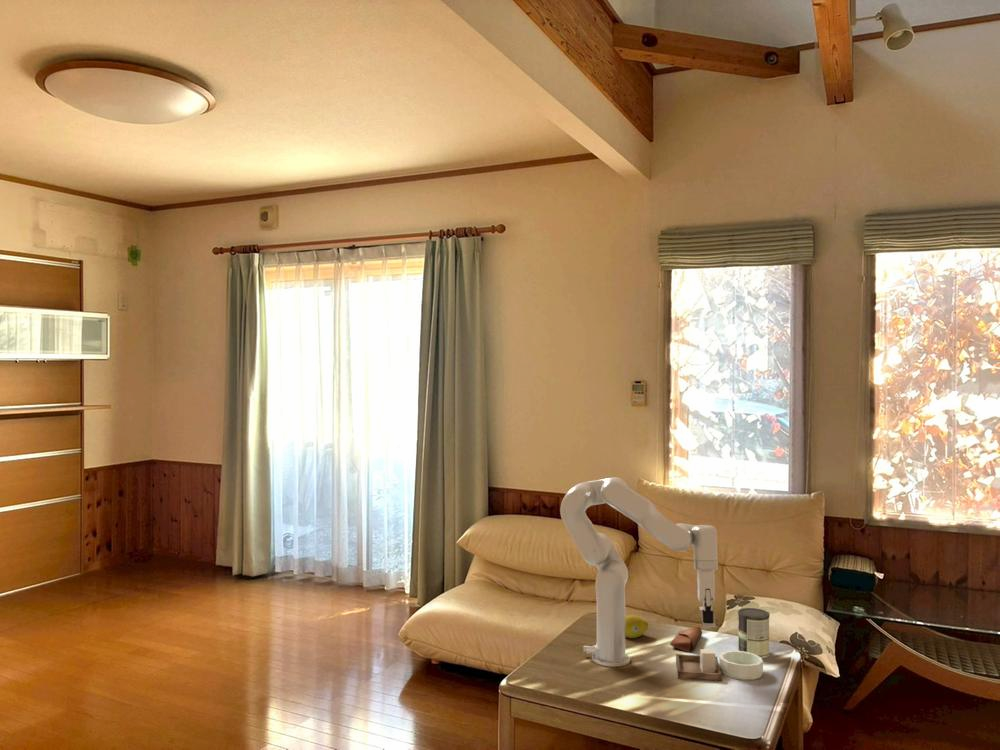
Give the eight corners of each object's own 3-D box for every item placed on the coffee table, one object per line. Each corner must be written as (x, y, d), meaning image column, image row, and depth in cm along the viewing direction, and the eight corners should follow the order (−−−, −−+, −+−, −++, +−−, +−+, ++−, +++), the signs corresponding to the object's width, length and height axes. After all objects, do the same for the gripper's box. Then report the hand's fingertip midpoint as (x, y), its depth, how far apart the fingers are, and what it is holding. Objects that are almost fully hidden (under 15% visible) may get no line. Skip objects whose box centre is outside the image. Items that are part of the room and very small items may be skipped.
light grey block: (703, 628, 242) (699, 610, 243) (702, 625, 246) (699, 606, 246) (716, 627, 242) (712, 608, 242) (715, 623, 245) (711, 605, 245)
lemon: (617, 640, 272) (617, 618, 272) (618, 633, 280) (618, 611, 280) (648, 642, 270) (648, 620, 270) (648, 635, 278) (648, 613, 278)
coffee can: (732, 653, 259) (732, 612, 259) (746, 646, 267) (746, 606, 267) (761, 661, 252) (761, 618, 252) (774, 653, 259) (774, 612, 259)
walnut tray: (678, 678, 237) (678, 671, 237) (675, 660, 252) (675, 653, 252) (721, 681, 234) (721, 674, 234) (716, 663, 250) (716, 656, 250)
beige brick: (702, 672, 241) (702, 653, 241) (700, 667, 245) (700, 649, 245) (715, 672, 241) (715, 653, 241) (712, 668, 244) (712, 649, 245)
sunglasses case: (678, 629, 279) (689, 617, 277) (693, 643, 277) (705, 631, 275) (668, 644, 262) (680, 631, 261) (684, 659, 260) (696, 646, 259)
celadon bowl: (722, 678, 237) (722, 663, 237) (718, 663, 250) (718, 649, 250) (765, 681, 235) (765, 666, 235) (759, 666, 247) (759, 652, 248)
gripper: (692, 558, 253) (694, 613, 253) (695, 569, 237) (697, 628, 236) (715, 558, 251) (717, 614, 251) (720, 570, 235) (722, 629, 235)
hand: (707, 620), depth 244 cm, fingers closed on light grey block, 3 cm apart
